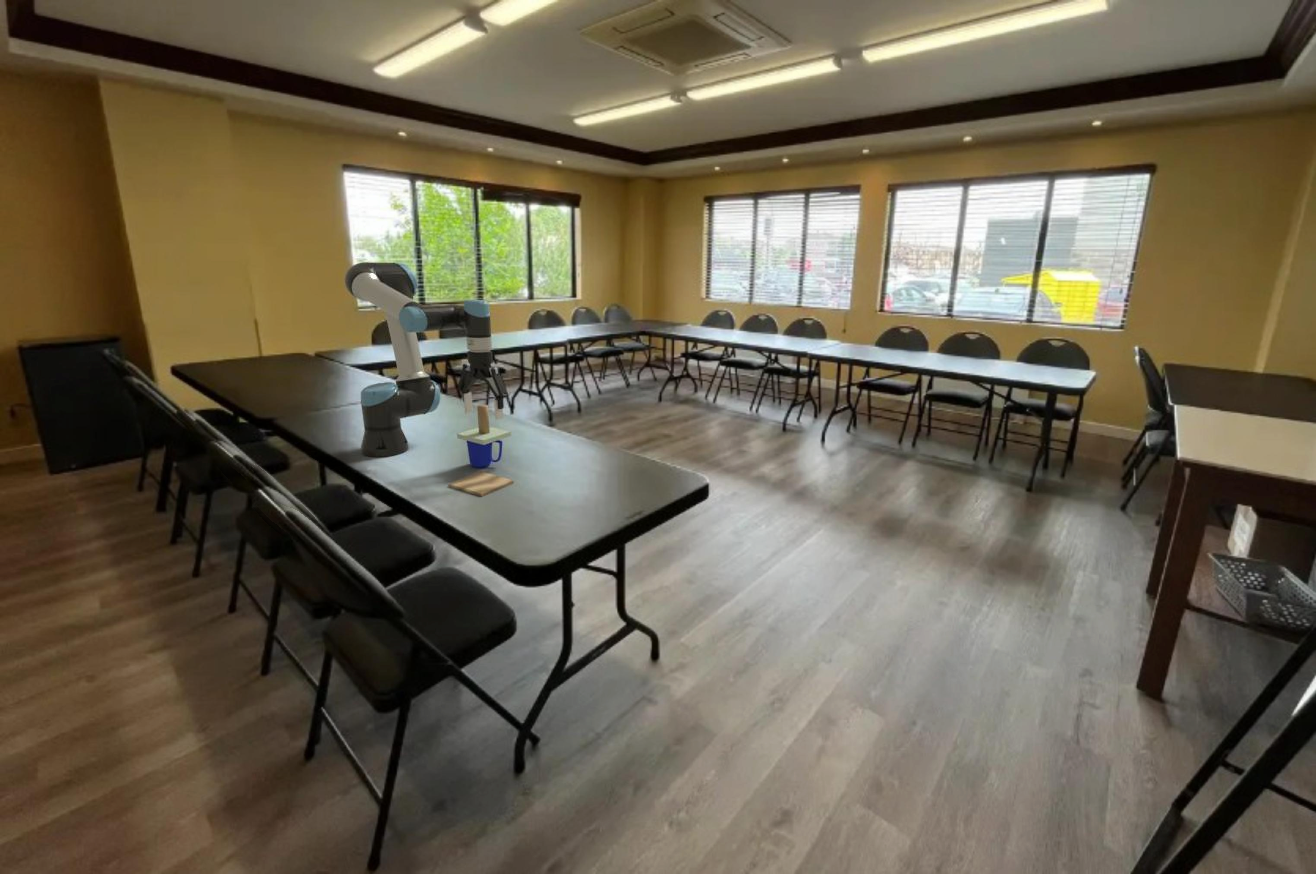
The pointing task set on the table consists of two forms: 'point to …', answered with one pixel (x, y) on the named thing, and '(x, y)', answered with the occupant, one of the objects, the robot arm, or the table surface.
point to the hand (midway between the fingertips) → (483, 415)
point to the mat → (481, 483)
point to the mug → (482, 453)
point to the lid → (483, 429)
